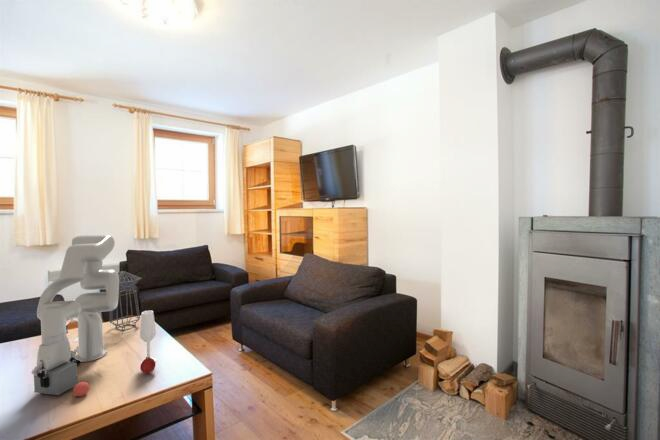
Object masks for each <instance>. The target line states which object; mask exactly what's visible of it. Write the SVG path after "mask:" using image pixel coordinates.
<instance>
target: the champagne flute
mask: <svg viewBox="0 0 660 440" xmlns="http://www.w3.org/2000/svg"><path fill="white" fill-rule="evenodd" d="M139 331H140V332H139V338H140V339H141V340H142V341H143V342H145V343H146V357H150V358H152V359H153V360H154V361H155V363H156V362H157V360H158V359H157V358H155V357H151V351H150V350H151V346H150V345H151V344H150V343H151V341H152V340H153V339H154V338H155V337H156V335H157V331H156V322H155V314H154V310H144V311H142V312H141V315H140V330H139ZM144 360H145V359H144ZM144 360H142V361H141V362H140V364H141V363H142V362H143V361H144Z"/></svg>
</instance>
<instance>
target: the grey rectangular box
mask: <svg viewBox="0 0 660 440" xmlns="http://www.w3.org/2000/svg"><path fill="white" fill-rule="evenodd" d="M40 371H41V370H39V372H40ZM44 373H45V371H44ZM47 377H49V387H48V388H45V387H41V385H40V378H38V377H36V376H35V375H33V386H34V393H37V394H46V395H54V396H60V395H61V394H63V393H65V392H67V391H68V390H71V389H72V388H74V387H75V386H76V385H77V384H78V383H79V382H78V363H77V362H72V363H70V362H67V363H64V364H62V365H60V366H58V367H55V368H53V369H51V370H50V371H49V372H48V376H47Z"/></svg>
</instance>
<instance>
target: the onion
mask: <svg viewBox="0 0 660 440" xmlns="http://www.w3.org/2000/svg"><path fill="white" fill-rule="evenodd" d="M150 357H151V356H150ZM150 357H147V356H146V357H145V359H144V361H143V360H142V361H143V362H142V361H141V362H142V363H141V362H140V367H139V370H140V371H141V372H142V373H143V374H146V375H149V374H151V373H152V372H153V371H155V368H156V362H155V361H154V360H153V359H152V358H153V357H151V358H150Z"/></svg>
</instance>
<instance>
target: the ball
mask: <svg viewBox="0 0 660 440" xmlns="http://www.w3.org/2000/svg"><path fill="white" fill-rule="evenodd" d="M89 390H90V384H89V383H88V382H86V381H81V382H78V384H77V385H75V386H74V387H73V389H72V392H73V395H74V396H76V397H82V396H84V395H86V394H87V393H88V392H89Z"/></svg>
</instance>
